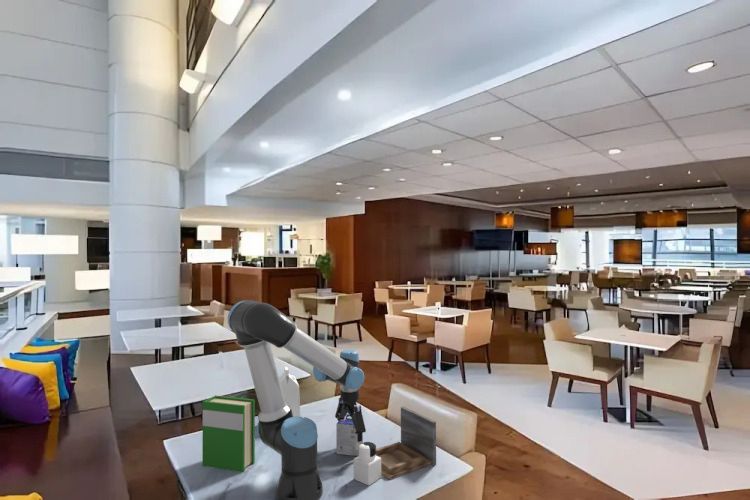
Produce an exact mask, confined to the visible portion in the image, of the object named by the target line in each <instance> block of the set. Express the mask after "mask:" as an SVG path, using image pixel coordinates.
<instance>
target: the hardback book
mask: <svg viewBox="0 0 750 500" xmlns="http://www.w3.org/2000/svg"><path fill="white" fill-rule="evenodd" d="M255 405H256V401H255V399H252V398H242V397H233V396H225V395H223V396H222V395H214V396H211V397H209V398H207V399H205V400H203V401H202V460H201V461H202V467H207V468H213V469H218V470H225V471H232V472H238V473H245V469H246V468H247V467H248V466H249V465H255V458H256V455H255V445H256V444H255V441H256V439H255V437H256V435H255V433H256V432H255V431H256V430H255V429H256V428H255V427H256V426H255V421H256V420H255V416H256V413H255V412H256V411H255V408H256V406H255Z"/></svg>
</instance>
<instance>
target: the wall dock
mask: <svg viewBox="0 0 750 500" xmlns="http://www.w3.org/2000/svg"><path fill="white" fill-rule="evenodd" d="M376 456H378V457H381V475H383V476H384V477H385V478H387V479H389V480H392V479H395V478H398V477H400V476H401V477H402V476H403V475H406V474H409V473H412V472H415V471H417V470H420V469H423V468H426V467H429V466H433V467H434V466H436V465H437V421H435V420H434V419H431V418H430V417H429V418H428V417H427V416H425V415H422V414H420V413H418V412H416V411H414V410H413V409H410V408H407V407H406V406H400V441H399V442H398V441H397V442H394V443H391V444H387V445H384V446H382V447H379V448H377V447H376Z"/></svg>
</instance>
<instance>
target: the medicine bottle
mask: <svg viewBox="0 0 750 500" xmlns="http://www.w3.org/2000/svg"><path fill="white" fill-rule="evenodd" d="M376 449H377V446H376V444H375V443H374V442H372V441H371V442H370V441H363V443H361V444H360V445H359V456H356V457H355V458H353V480H355V481H358V482H360V483H362V484H363V485H367V486H370V485H372V484H374V483H375V482H377V481H378V480H380V479H381V478H382V474H381V457H378V456H376Z"/></svg>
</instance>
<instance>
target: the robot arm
mask: <svg viewBox="0 0 750 500" xmlns="http://www.w3.org/2000/svg"><path fill="white" fill-rule="evenodd" d="M227 324H228V326H229V329H230V330H231V331H232V332H233V333H234V334H235V337H236V341H237V344H238V346H240V347H242V348H243V349H244V352H245V356H246V360H247V363H248V368H249V370H250V371H249V372H250V376H251V379H252V383H253V386H254V390H255V394H256V398H257V402H258V405H259V409H260V411H259V413H258V415H257V419H258V422H257V426H256V431H257V435H258V438H259V439H260V441H261V442H262V443H263V445H265V446H267V447H269V448H270V449H272V450H273V451H275V452H276V453H278V454H279V455H280V457H281V458H280V459H281V464H280V465H281V473H280V475H279V478H278V481H277V485H276V489H275V499H276V500H320V499H321V497H322V496H323V491H324V490H323V482H322V479H321V476H320V473H319V470H318V437H319V435H318V428H317V424H316V423H315V421H314V420H312V419H311V418H309V417H305V416H304V417H303V416H300V417H293V414H292V410H291V406H290V404H288V403H285V400H284V396H283V392H282V389H281V385H280V381H279V377H280V376H279V374H278V370H277V364H276V362H275V358H274V353H273V350H272V346H271V345H273V346H274V347H276V348H279V349H280V348H281V349H282V348H283V349H285V350H286V351H289V352H290V353H292V354H294V355H295V356H296V357H298V358H299V359H301V360H303V361H304V362H306V363H308V364H309V365H311V366H312V367H313V368H312V369H313V370H312V373H313V374H312V375H313V377H314V379H315V381H317V382H318V383H319V382H321V383H322V382H326V381H329V382H332V383H335V384H338V385H339V388H340V393H339V394H340V395H339V396H340V397H339V398H338V405H337V408H336V411H335V415H334V417H335V418H336V420H337V422H338V421H339V420H340V419H344V420H345V419H346V414H349V415H350V416H349V418H350V419H352V420H353V423H354V426H355V429H356V432H355V450H359V445H360V444H361V443H362V433H366V430H367V429H366V426H365V425H366V424H365V421H364V416H363V413H362V406H361V405H357V401H358V400H360V399H359V398H360V390H359V389H360V388H361V387H362V385H363V384H364V382H365V374H364V371H363V370H362V369H361V368H360V356H359V351H358V350H354V349H343V350H341V351H340V353H339V356H338V355H337V354H336V353H335V352H333V351H332V350H330V349H329V348H327V347H326V346H325V345H322V344H321V343H320V342H318V341H317V340H315V339H314V338H313V337H312V336H310V335H309V334H307V333H305V332H304V331H303V330H301V329H300V328H298V326H297V323H296V322H295V321H294V320H292V318H290V317H288V316H287V315H286V314H284V313H283V312H282V311H280V310H279V309H278V308H276V307H275V306H273V305H271V304H269V303H266V302H260V301H255V300H252V299H249V300H242V301H241V300H240V301H239V302H236V303H235V304H234V305H233V306H232V307H231V309H230V310H229V311H228V314H227Z"/></svg>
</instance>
